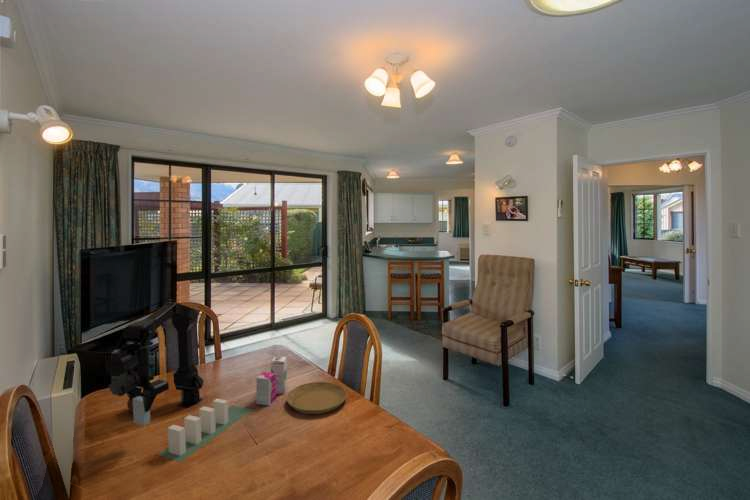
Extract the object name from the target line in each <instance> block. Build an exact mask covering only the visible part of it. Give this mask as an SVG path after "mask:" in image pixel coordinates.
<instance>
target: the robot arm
mask: <svg viewBox="0 0 750 500" xmlns="http://www.w3.org/2000/svg"><path fill="white" fill-rule="evenodd" d="M196 317H197V311H196V309H195V308H193V307H190V306H187V305H184V304H181V303H180V302H166V303H164V304H163V305H162V306H161V307H160V308H158V309H157V310H156V311H154V312H153V313H151V314H150V315H149V316H147V317H145V318H144V319H143V320H138V321H134V322H132V323H130V324H128V325H127V326H126V327H125V328H124V329H123V332H122V333H121V336H120V338H119V341H118V343H117V345H116V347H115V349H116V351H115V352H112V353H111V357H110V358H108V359H107V361H106V363H105V365H104V369H105V371H106V372H107V374H108V375H110V376H111V377H115V378H114V379H113V380H112V382H111V383H110V384H109V385H108V386H107V387H108V388H109V390H110V393H111V394H112V396H118V397H122V396H125V395H126V396H127V397H128V400H129V399H130V401H131V404H132V406H133V398H136V397H138V396H140V397H142V398H143V402H144V408H145V412H148V411H149V410H151V409H152V406H153V404H154V401H155V399H156V398H157V395H160V394H162V393H164V392H166V391H168V390H169V388H170V386H169V385H170V384H169V382H168V381H166V380H162V379H157V380H155V375H152V374H151V369H152V368H153V367H154V363H151V358H150V357H151V356H150V355H151V354H150V347H151V346H153V345H154V341H151V340H152V339H153V337H154V336H156V330H157V329H158V328H159V327H161V326H162V325H163V324H165V323H166V322H167V321H168V320H171V325H172V326H173V328H174V329H175V331H176V332H177V334H176V335H177V352H178V353H177V356H178V367H177V369H176V370H175V372H174V373H173V376H172V377H173V384H174V387H175V389H176V391H180V396H181V400H180V401H179V402H178V403H177V405H178V406H182V407H186V408H191V407H192V406H194V405H197V404H198V403H200V402H201V401H203V398H202V397H200V394H201V393H200V389H202V388H203V386H204V379H203V378H202V377H201V376H200V375H199V370H198V368H197V366H196V365H195V364H194V356H193V339H192V338H193V337H192V336H193V334H192V329H193V326H194V325H195V323H196V320H197V318H196ZM153 380H154V381H153ZM151 381H152V382H151ZM141 392H143V393H142V394H141Z"/></svg>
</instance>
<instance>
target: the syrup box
mask: <svg viewBox="0 0 750 500" xmlns="http://www.w3.org/2000/svg"><path fill="white" fill-rule="evenodd" d="M270 373H275V374H276V395H284V394H286V390H287V387H288V384H287V382H288V377H287V376H288V374H287V373H288V359H287V356H274V357H273V358H272V360H271V362H270Z"/></svg>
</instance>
